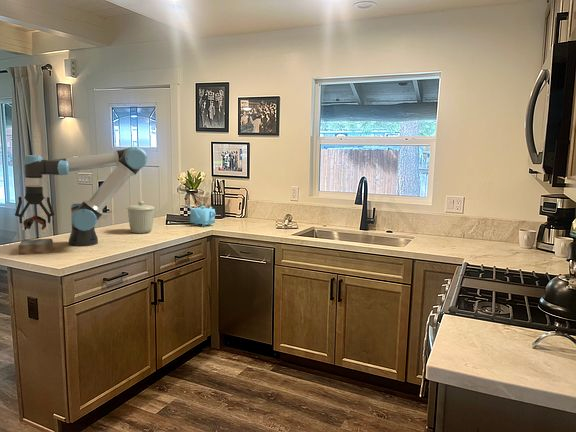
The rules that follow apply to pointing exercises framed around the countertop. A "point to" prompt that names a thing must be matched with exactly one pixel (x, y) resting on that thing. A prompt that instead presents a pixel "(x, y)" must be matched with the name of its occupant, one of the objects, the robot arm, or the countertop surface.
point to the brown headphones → (37, 219)
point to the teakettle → (202, 215)
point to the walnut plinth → (35, 246)
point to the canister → (141, 217)
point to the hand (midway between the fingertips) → (35, 229)
